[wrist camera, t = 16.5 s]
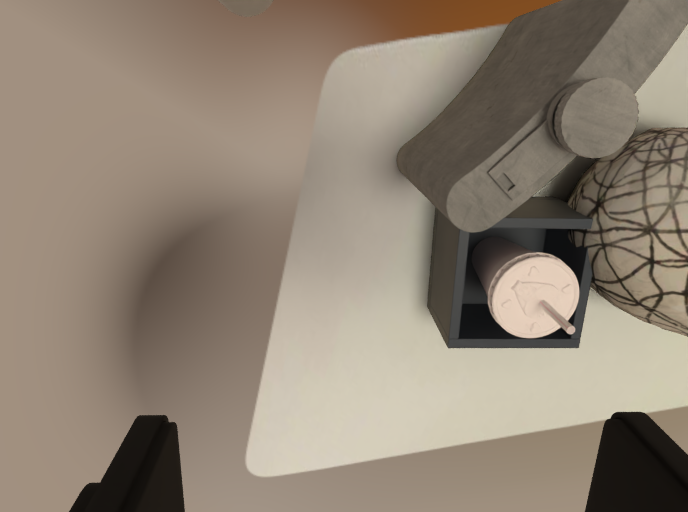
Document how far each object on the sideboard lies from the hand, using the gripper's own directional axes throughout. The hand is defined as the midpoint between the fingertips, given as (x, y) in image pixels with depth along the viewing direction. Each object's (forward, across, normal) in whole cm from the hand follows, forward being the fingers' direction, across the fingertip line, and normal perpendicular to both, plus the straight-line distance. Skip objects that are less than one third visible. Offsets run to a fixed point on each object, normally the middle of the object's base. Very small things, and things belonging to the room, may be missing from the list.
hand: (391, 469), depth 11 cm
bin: (+34, -14, +6) cm, 38 cm away
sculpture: (+34, -28, +3) cm, 44 cm away
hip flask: (+34, -11, -7) cm, 37 cm away
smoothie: (+34, -14, +6) cm, 37 cm away
